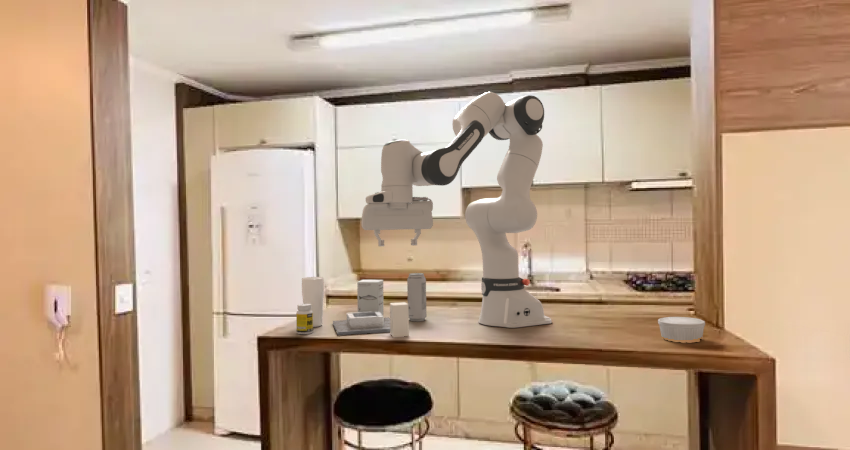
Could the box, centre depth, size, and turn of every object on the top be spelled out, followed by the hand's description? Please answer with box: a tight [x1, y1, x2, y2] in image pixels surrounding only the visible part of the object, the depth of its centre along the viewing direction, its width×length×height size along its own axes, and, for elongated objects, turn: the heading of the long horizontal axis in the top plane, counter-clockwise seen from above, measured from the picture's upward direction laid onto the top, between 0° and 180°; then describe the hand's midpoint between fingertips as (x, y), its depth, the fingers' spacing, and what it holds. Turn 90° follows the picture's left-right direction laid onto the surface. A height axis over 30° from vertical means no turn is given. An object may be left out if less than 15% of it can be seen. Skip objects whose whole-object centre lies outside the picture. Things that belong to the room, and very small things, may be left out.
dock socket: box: [332, 311, 390, 336], centre depth 172 cm, size 18×18×4 cm
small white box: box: [389, 301, 410, 338], centre depth 160 cm, size 4×4×9 cm
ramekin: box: [657, 316, 706, 340], centre depth 149 cm, size 11×11×5 cm
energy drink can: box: [406, 272, 427, 322], centre depth 183 cm, size 6×6×15 cm
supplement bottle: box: [295, 303, 314, 335], centre depth 166 cm, size 5×5×8 cm
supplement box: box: [356, 279, 384, 316], centre depth 188 cm, size 7×7×13 cm
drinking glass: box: [301, 276, 325, 328], centre depth 176 cm, size 7×7×15 cm
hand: (397, 245), depth 160 cm, fingers open, 8 cm apart
